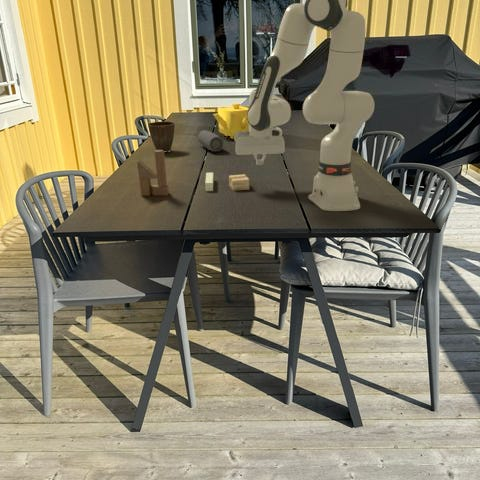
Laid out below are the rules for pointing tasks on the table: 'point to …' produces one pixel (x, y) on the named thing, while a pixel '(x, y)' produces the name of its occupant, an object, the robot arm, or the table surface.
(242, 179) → the oak block
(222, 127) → the cube teapot
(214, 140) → the bluetooth speaker
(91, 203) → the table surface
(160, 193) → the wooden block
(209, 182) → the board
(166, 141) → the plant pot
